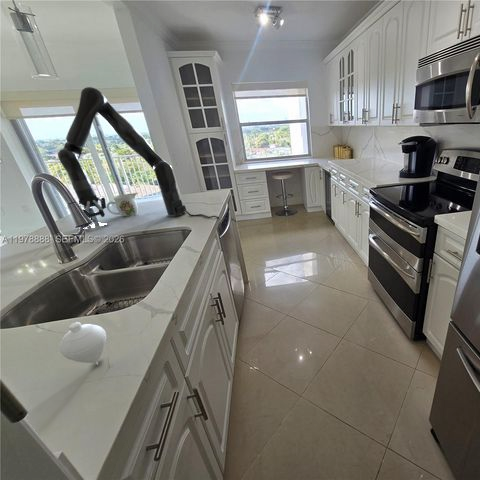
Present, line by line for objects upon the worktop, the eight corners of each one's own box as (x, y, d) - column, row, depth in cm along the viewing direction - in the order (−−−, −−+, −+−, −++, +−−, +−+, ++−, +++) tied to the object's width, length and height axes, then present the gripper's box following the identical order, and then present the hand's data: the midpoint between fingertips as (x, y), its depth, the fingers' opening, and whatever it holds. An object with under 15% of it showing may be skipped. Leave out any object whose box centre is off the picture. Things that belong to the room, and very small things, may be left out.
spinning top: (68, 373, 58) (41, 333, 53) (104, 347, 64) (83, 309, 59) (89, 383, 55) (63, 342, 50) (124, 355, 61) (104, 316, 56)
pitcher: (112, 217, 166) (103, 196, 160) (144, 211, 175) (137, 191, 169) (111, 221, 158) (102, 200, 152) (145, 215, 167) (138, 194, 161)
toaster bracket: (107, 225, 151) (99, 206, 146) (89, 231, 144) (80, 211, 139) (97, 223, 156) (89, 204, 152) (79, 228, 149) (70, 209, 144)
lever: (101, 215, 144) (100, 211, 143) (91, 218, 140) (89, 213, 139) (91, 211, 149) (89, 207, 148) (80, 213, 145) (78, 209, 144)
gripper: (69, 192, 128) (84, 223, 135) (102, 185, 140) (114, 215, 147) (63, 191, 132) (78, 221, 139) (95, 184, 143) (108, 213, 150)
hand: (97, 218), depth 143 cm, fingers closed on lever, 5 cm apart
